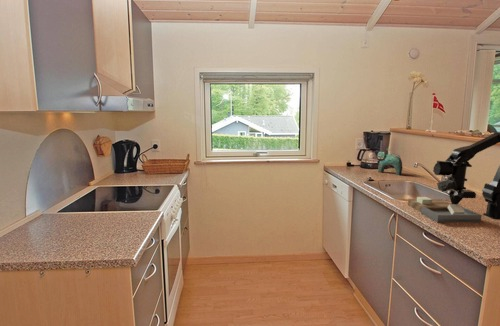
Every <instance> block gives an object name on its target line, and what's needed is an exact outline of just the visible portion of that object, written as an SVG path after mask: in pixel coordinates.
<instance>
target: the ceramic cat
mask: <svg viewBox="0 0 500 326" xmlns="http://www.w3.org/2000/svg"><path fill="white" fill-rule="evenodd" d="M387 150H389V151H391V149H390V148H387V149H386V150H385V151H381V150H379V151H378V153H377V154H376V159H378V160H379V161H378V166H377V171H378V172H377V173H382V174H383V173H384V172H385V168H386V167H387V166H392V167H393V168H394V169H395V170H394V171H395V176H401V175H402V172H403V168H404V167H403V162H402V158H401V156H400V155H399V154H397V153H395V154H393V153H389V154H388V153H387V152H386V151H387Z"/></svg>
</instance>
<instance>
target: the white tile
mask: <svg viewBox="0 0 500 326" xmlns="http://www.w3.org/2000/svg"><path fill="white" fill-rule="evenodd" d="M462 207H463V206H462V205H461V204H460V203H458V204H451V203H450V204H449V206H448V209H449V211H450V213H451V214H464V213H465V211H464V209H463V208H462Z"/></svg>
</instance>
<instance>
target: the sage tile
mask: <svg viewBox="0 0 500 326" xmlns="http://www.w3.org/2000/svg"><path fill="white" fill-rule="evenodd" d="M416 200H417V202H419V203H421V204H432V200H433V198H429V197H427V196H417V197H416Z"/></svg>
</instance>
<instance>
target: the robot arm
mask: <svg viewBox="0 0 500 326" xmlns="http://www.w3.org/2000/svg"><path fill="white" fill-rule="evenodd" d="M499 143H500V131H496V132H494V133H492V134H490V135H488V136H486V137H484V138H481V139H480V140H478V141H476V142H474V143H471V144H470V145H467V146H466V145H465V146H461V147H457V148H455V149H453V150H452V151H451V154H450V155H449V156H448V157H447V158H446V159H445V161H444V160H437V161H436V163H435V164H434V166H433V173H434V175H436V176H448V177H447V179H446V180H442V181H439V182H437V183H436V185H437V189H438V190H439V191H441V192H445V193H446V194H447V195H448V196H449V200H450V204H460V202H461V201H462V200H463V199H476V196H477V193H476V192H475V191H473V190H470V189H467V187H466V186H465V182H468V178H466V174H467V168H471V167H473V166H472V164H471V163H470V162H469V161H470V160H472V159H474V158H475V156H476V155H478V154H479V153H480V152H483V151H484V150H486V149H489V148H491V147H492V146H495V145H497V144H499ZM481 191H482V195H481V196H482V197H483V198H484V201H485V202H486V203H487V205H486V211H485V212H484V213H483V214H482V215H484V216H486V217H489V218H491V219H500V164H499V166H498V167H497V170H496V172H495V175H494V176H493V179H492V181H490V183H485V184H484V186H483V189H481Z"/></svg>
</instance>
